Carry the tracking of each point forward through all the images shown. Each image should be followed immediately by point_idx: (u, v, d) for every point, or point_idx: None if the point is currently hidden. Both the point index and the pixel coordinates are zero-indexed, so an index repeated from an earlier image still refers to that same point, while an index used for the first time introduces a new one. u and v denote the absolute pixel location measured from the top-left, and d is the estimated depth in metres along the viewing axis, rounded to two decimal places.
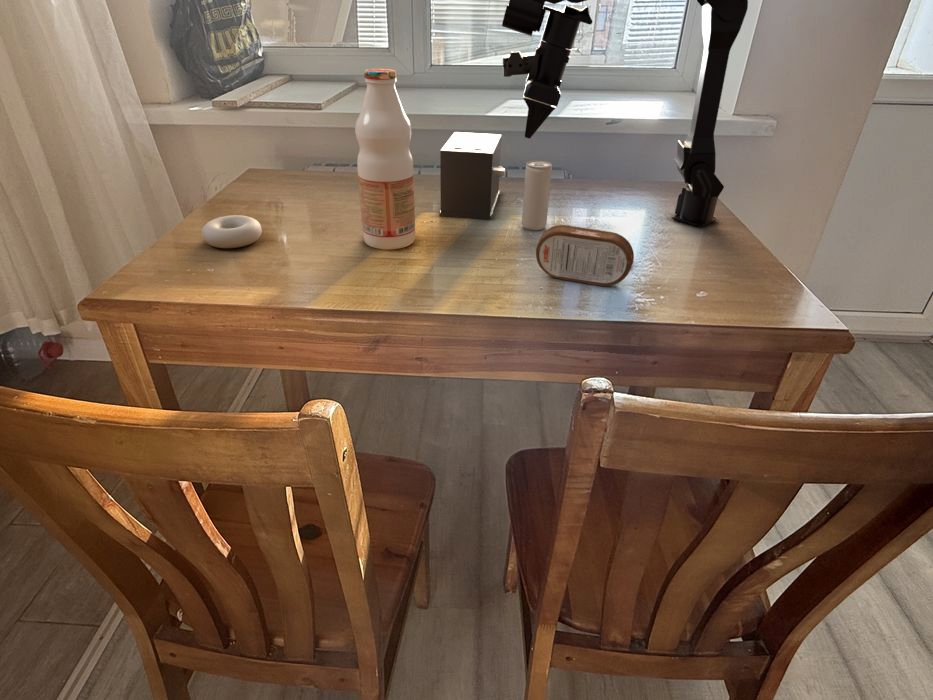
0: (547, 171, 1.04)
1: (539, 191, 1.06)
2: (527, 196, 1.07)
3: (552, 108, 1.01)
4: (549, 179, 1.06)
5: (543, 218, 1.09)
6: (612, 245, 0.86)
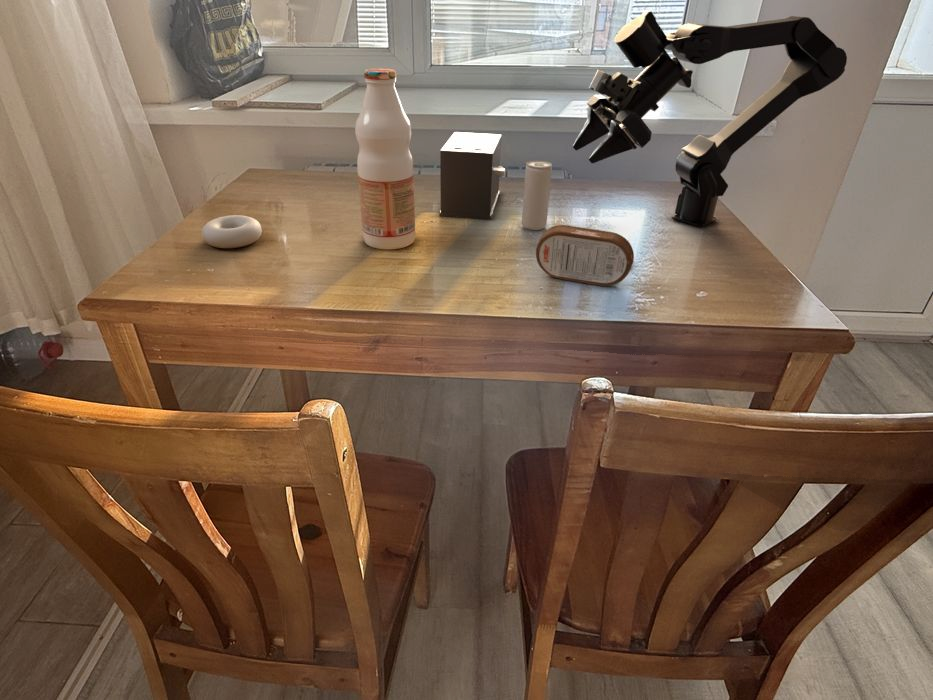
0: (547, 171, 1.04)
1: (539, 191, 1.06)
2: (527, 196, 1.07)
3: (635, 147, 0.99)
4: (549, 179, 1.06)
5: (543, 218, 1.09)
6: (612, 245, 0.86)
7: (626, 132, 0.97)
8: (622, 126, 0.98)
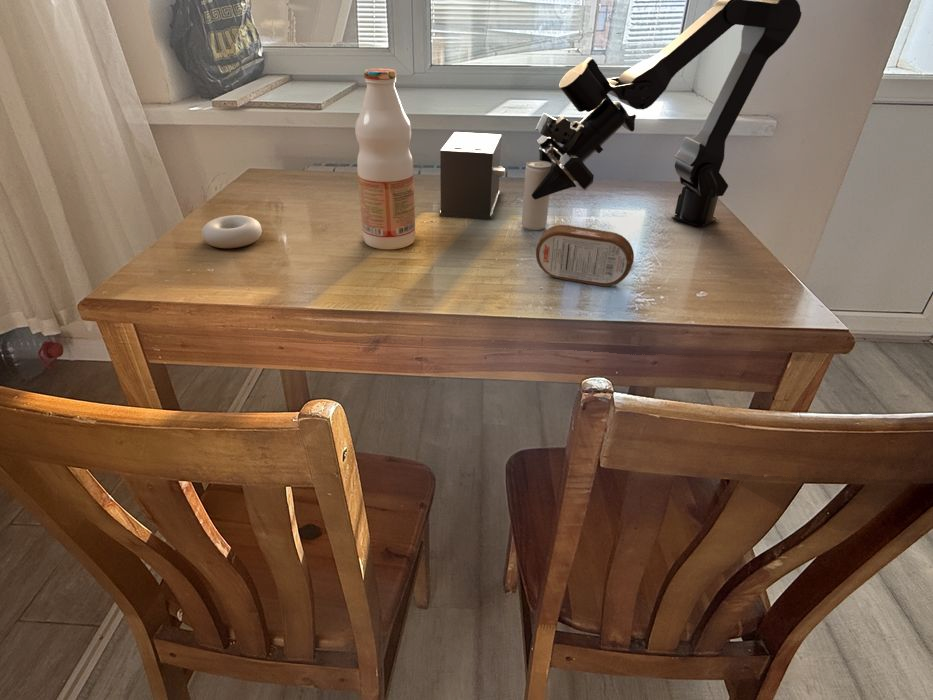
0: (547, 171, 1.04)
1: None
2: (527, 196, 1.07)
3: (574, 186, 1.03)
4: None
5: (543, 218, 1.09)
6: (612, 245, 0.86)
7: (565, 172, 1.01)
8: (562, 166, 1.02)
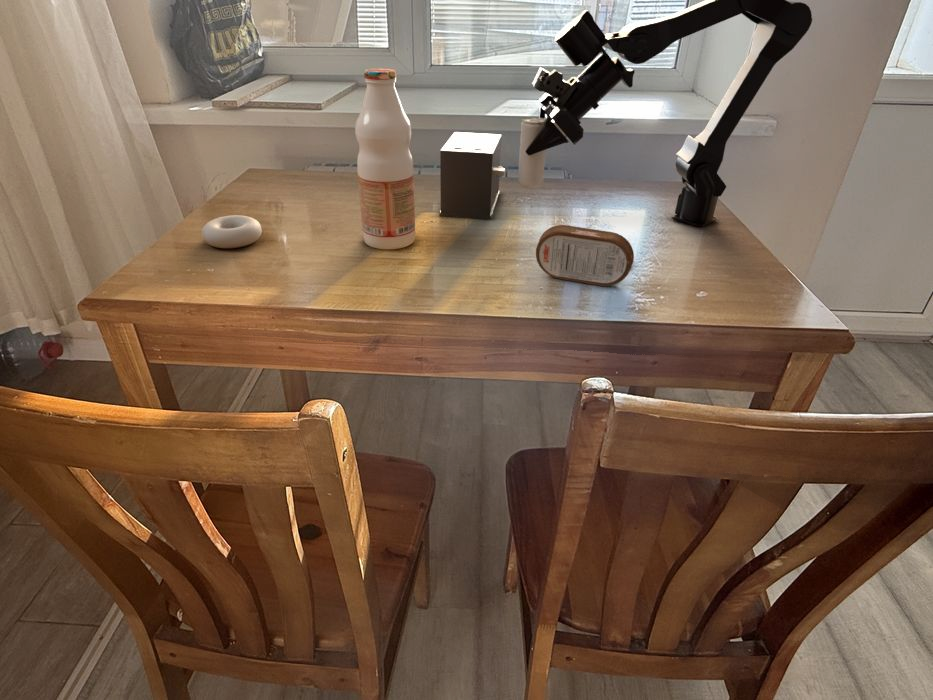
0: (542, 126, 1.05)
1: None
2: (522, 152, 1.08)
3: (566, 141, 1.02)
4: None
5: (538, 175, 1.09)
6: (612, 245, 0.86)
7: (557, 126, 1.01)
8: None
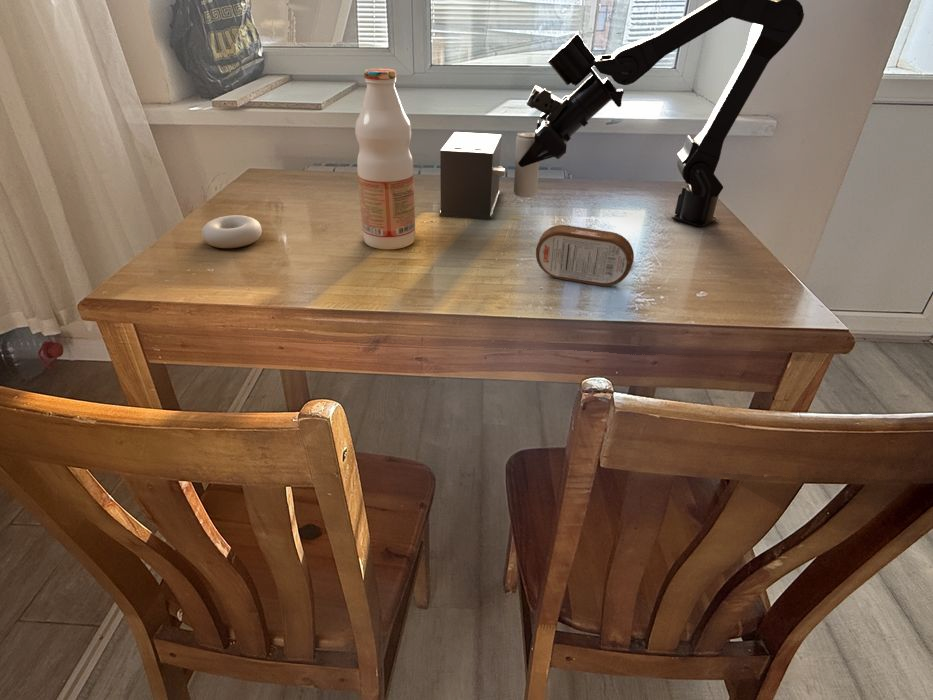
0: (533, 140, 1.11)
1: None
2: (516, 164, 1.15)
3: (553, 155, 1.09)
4: None
5: (530, 186, 1.16)
6: (612, 245, 0.86)
7: None
8: None
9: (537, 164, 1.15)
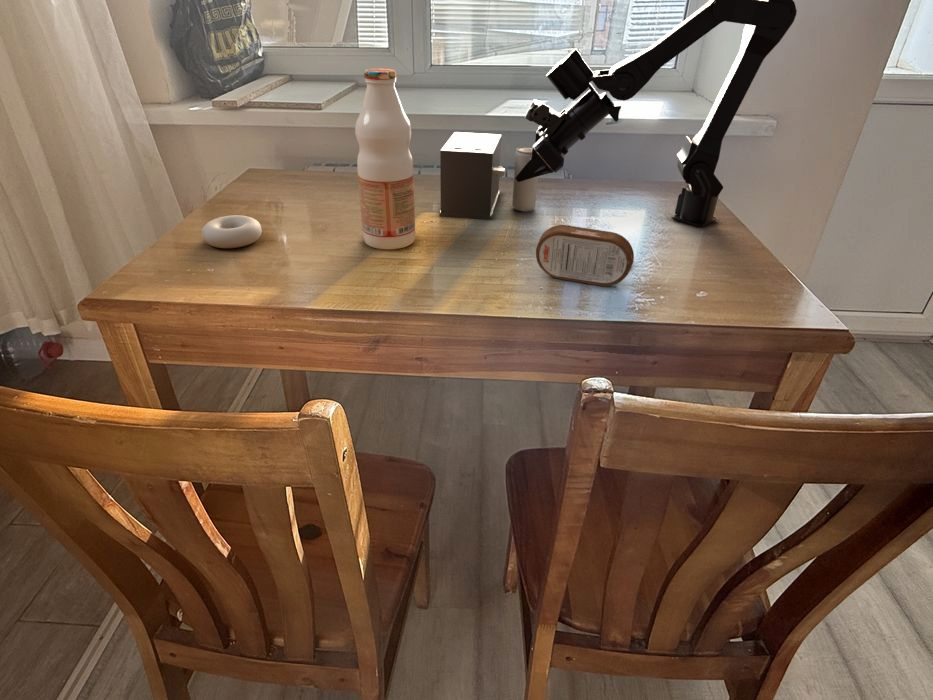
0: None
1: None
2: None
3: (550, 171, 1.08)
4: None
5: (529, 200, 1.18)
6: (612, 245, 0.86)
7: (541, 157, 1.07)
8: None
9: (535, 179, 1.16)
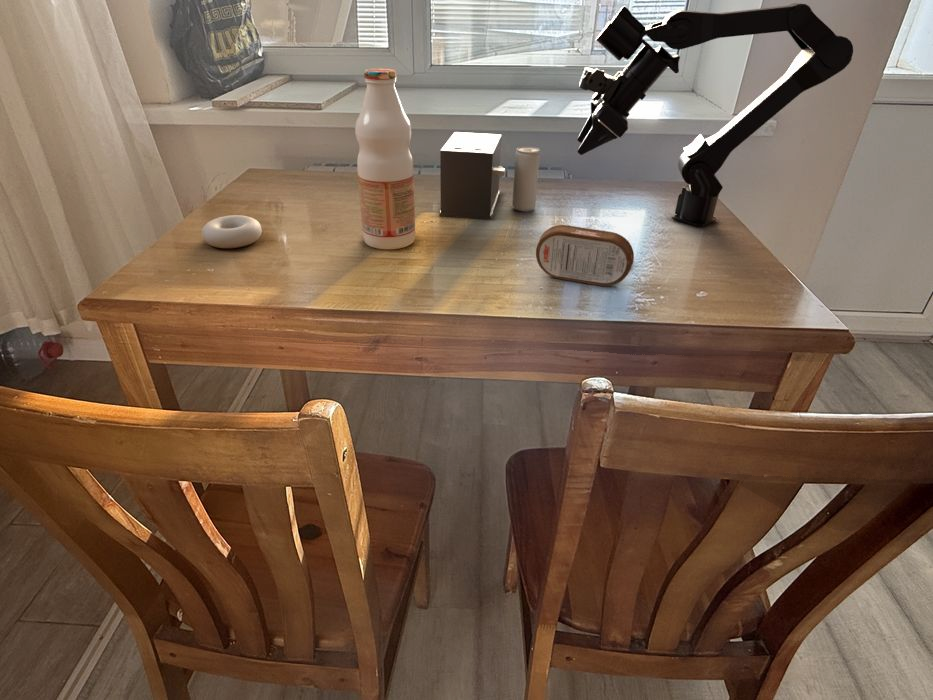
0: (532, 156, 1.13)
1: (524, 174, 1.15)
2: (515, 178, 1.17)
3: (615, 137, 1.04)
4: (535, 164, 1.14)
5: (529, 200, 1.18)
6: (612, 245, 0.86)
7: (603, 124, 1.03)
8: None
9: (535, 179, 1.16)
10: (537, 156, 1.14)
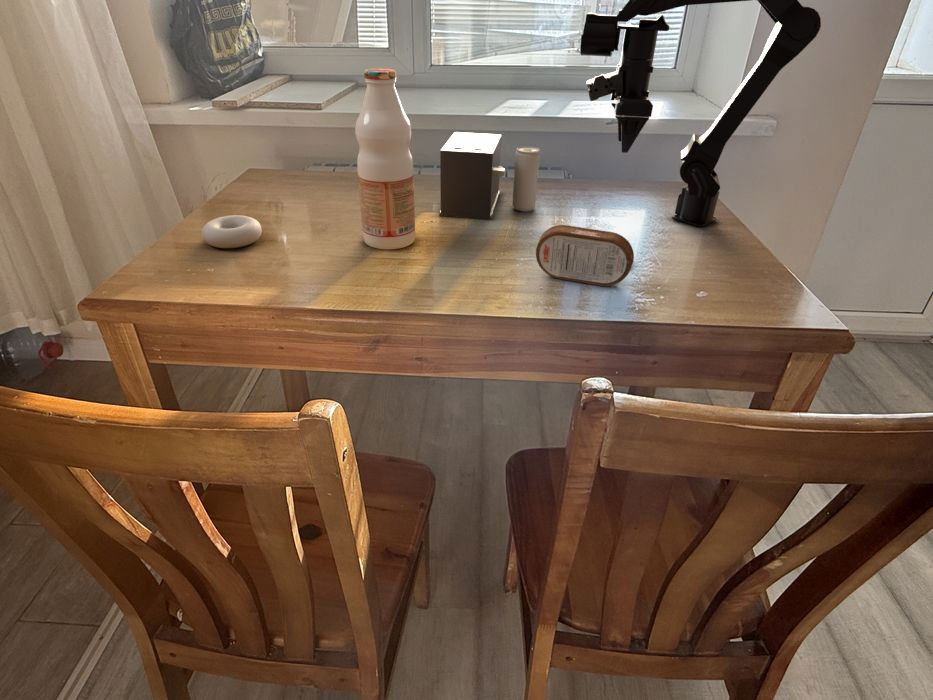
0: (532, 156, 1.13)
1: (524, 174, 1.15)
2: (515, 178, 1.17)
3: (646, 119, 1.03)
4: (535, 164, 1.14)
5: (529, 200, 1.18)
6: (612, 245, 0.86)
7: (628, 115, 1.03)
8: None
9: (535, 179, 1.16)
10: (537, 156, 1.14)
